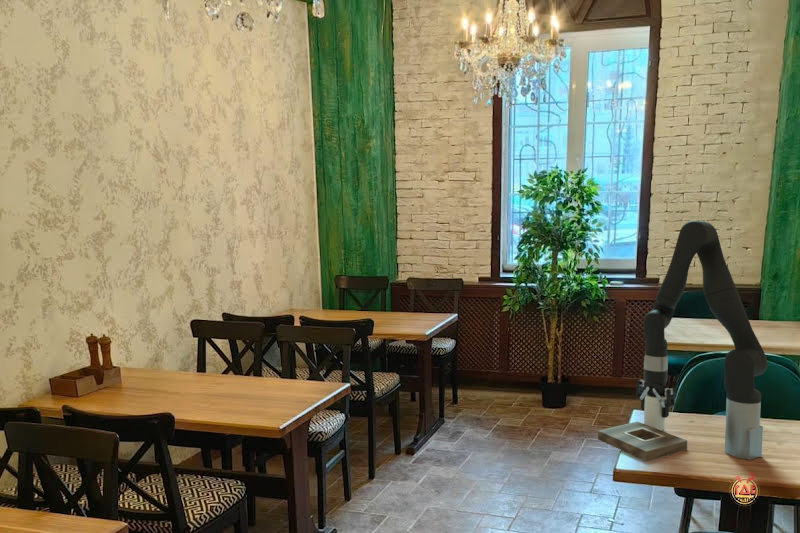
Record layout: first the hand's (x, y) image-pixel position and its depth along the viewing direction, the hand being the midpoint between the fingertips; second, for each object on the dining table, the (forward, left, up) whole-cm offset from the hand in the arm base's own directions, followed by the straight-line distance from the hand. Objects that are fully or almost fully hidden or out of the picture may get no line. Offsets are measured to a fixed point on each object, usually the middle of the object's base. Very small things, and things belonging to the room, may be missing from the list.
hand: (654, 413), depth 215 cm
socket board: (-8, +14, -5) cm, 17 cm away
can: (0, 0, -6) cm, 6 cm away
